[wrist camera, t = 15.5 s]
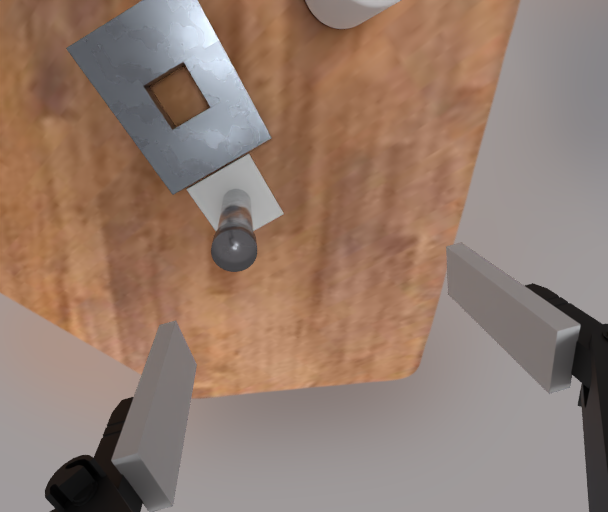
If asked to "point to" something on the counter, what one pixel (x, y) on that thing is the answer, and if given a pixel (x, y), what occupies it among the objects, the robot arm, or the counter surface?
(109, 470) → the robot arm
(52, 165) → the counter surface
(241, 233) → the key peg
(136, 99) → the plate
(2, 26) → the counter surface
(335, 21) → the beverage can
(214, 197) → the pad
